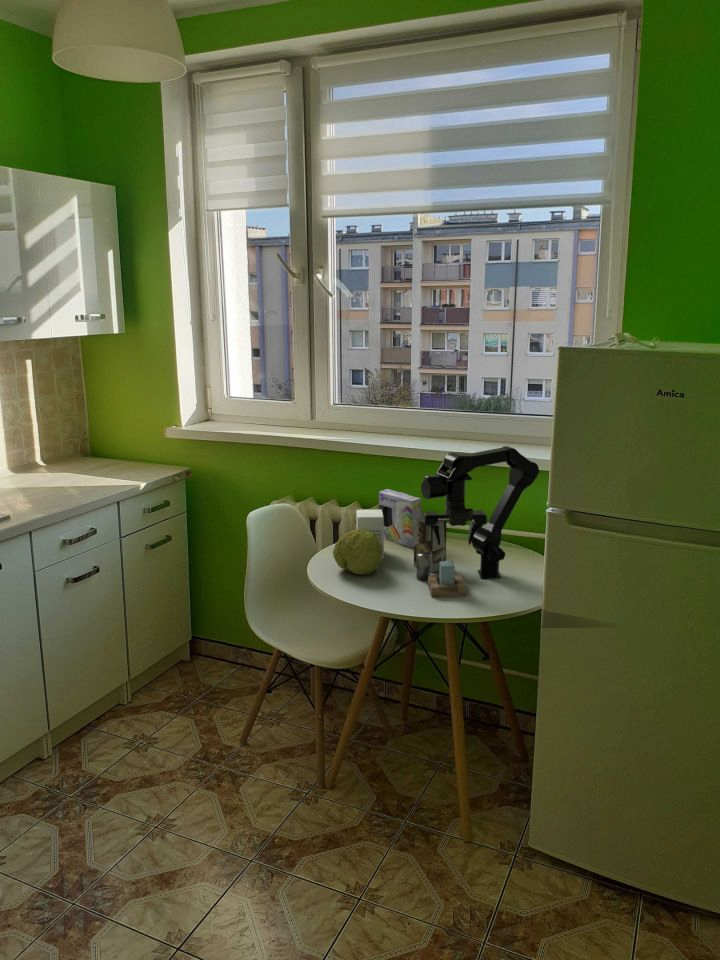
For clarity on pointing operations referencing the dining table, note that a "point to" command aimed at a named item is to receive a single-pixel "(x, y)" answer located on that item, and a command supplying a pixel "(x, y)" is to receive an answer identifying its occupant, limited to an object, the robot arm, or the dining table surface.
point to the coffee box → (430, 542)
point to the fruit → (358, 552)
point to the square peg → (446, 573)
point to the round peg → (423, 566)
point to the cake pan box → (399, 516)
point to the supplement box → (372, 523)
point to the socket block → (446, 587)
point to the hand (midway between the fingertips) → (454, 544)
